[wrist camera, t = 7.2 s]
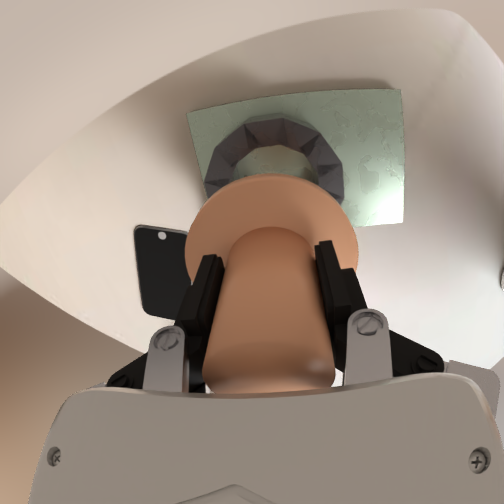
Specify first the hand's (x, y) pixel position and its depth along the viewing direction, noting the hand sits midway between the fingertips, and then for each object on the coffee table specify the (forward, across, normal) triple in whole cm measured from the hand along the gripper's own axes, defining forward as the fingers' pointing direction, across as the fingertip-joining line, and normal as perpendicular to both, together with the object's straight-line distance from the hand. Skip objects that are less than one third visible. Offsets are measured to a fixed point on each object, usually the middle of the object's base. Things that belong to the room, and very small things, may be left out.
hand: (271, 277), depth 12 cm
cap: (+5, 0, 0) cm, 5 cm away
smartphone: (+18, +16, +12) cm, 27 cm away
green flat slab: (+18, -3, 0) cm, 18 cm away
